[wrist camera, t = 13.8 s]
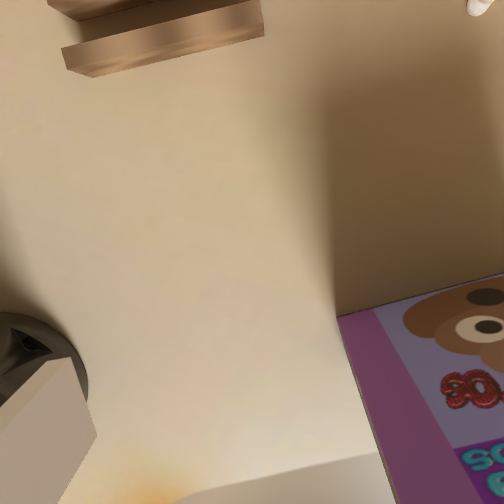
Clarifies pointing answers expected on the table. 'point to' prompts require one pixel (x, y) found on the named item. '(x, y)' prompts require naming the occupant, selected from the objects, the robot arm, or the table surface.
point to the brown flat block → (166, 40)
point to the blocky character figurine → (477, 6)
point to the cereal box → (435, 390)
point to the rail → (93, 7)
